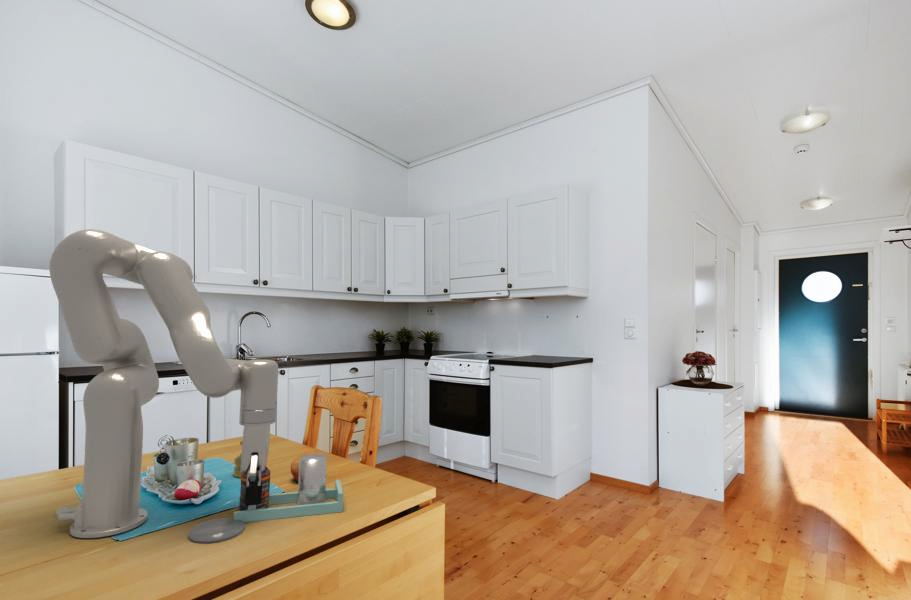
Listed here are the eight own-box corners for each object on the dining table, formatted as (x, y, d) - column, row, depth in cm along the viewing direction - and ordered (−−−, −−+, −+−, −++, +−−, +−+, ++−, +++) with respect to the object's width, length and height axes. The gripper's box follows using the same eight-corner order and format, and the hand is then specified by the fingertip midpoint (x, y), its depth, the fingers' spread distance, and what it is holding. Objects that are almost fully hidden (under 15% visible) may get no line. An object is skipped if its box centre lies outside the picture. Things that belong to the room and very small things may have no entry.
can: (297, 513, 101) (299, 462, 101) (297, 503, 106) (299, 454, 107) (325, 510, 103) (327, 460, 103) (324, 500, 108) (326, 453, 109)
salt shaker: (227, 477, 123) (229, 439, 124) (245, 469, 130) (247, 433, 131) (251, 479, 122) (253, 441, 122) (268, 471, 129) (270, 435, 129)
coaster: (182, 546, 85) (182, 543, 85) (194, 524, 94) (194, 521, 94) (241, 539, 88) (241, 536, 88) (247, 518, 98) (247, 515, 98)
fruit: (333, 471, 125) (322, 449, 122) (313, 494, 119) (301, 471, 116) (313, 466, 129) (302, 444, 126) (293, 488, 124) (280, 465, 120)
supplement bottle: (257, 519, 97) (260, 465, 98) (232, 516, 98) (235, 462, 99) (274, 508, 103) (276, 457, 104) (250, 506, 104) (252, 455, 105)
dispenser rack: (233, 523, 95) (234, 503, 95) (239, 505, 104) (240, 487, 104) (342, 511, 102) (343, 493, 102) (339, 496, 111) (339, 479, 111)
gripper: (244, 409, 109) (241, 487, 108) (234, 425, 93) (230, 516, 92) (278, 408, 111) (275, 484, 110) (274, 423, 95) (270, 512, 94)
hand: (254, 498), depth 101 cm, fingers closed on supplement bottle, 5 cm apart
